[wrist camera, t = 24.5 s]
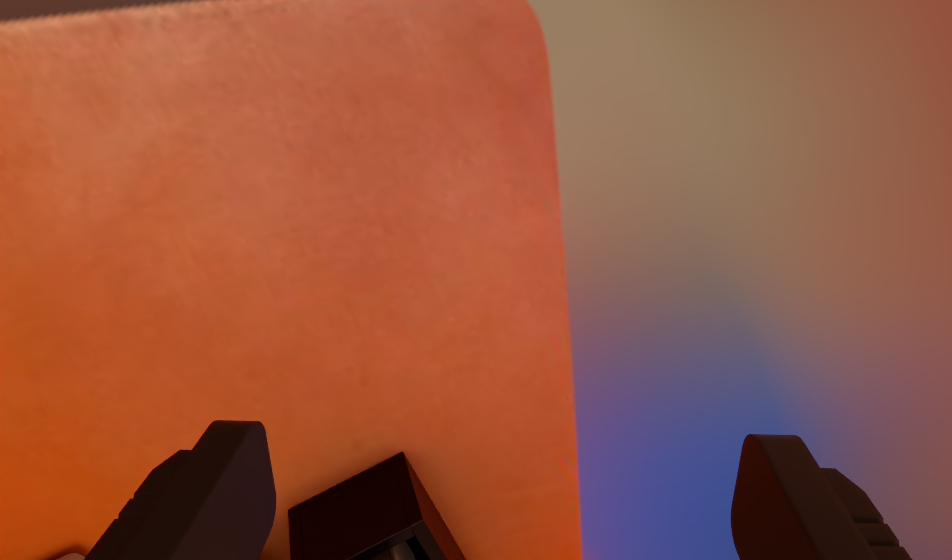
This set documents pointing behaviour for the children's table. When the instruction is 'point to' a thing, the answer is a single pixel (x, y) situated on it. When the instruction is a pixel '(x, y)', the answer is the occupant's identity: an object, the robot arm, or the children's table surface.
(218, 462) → the robot arm
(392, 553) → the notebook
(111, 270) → the children's table surface
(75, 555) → the shape sorter
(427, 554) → the caddy
